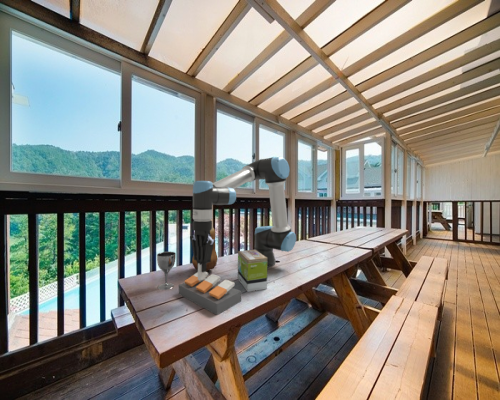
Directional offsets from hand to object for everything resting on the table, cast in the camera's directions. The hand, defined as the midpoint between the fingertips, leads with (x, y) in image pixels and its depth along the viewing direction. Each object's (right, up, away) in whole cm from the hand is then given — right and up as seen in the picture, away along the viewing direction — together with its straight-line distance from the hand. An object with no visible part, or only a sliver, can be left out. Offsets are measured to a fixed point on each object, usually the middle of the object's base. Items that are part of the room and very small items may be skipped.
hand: (201, 279), depth 82 cm
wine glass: (-19, -8, +13) cm, 25 cm away
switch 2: (+9, -4, -2) cm, 10 cm away
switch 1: (-4, -4, +8) cm, 10 cm away
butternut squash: (-6, -8, +33) cm, 34 cm away
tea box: (+20, -9, +17) cm, 28 cm away
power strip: (+5, -9, +6) cm, 12 cm away
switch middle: (+2, -4, +3) cm, 5 cm away
